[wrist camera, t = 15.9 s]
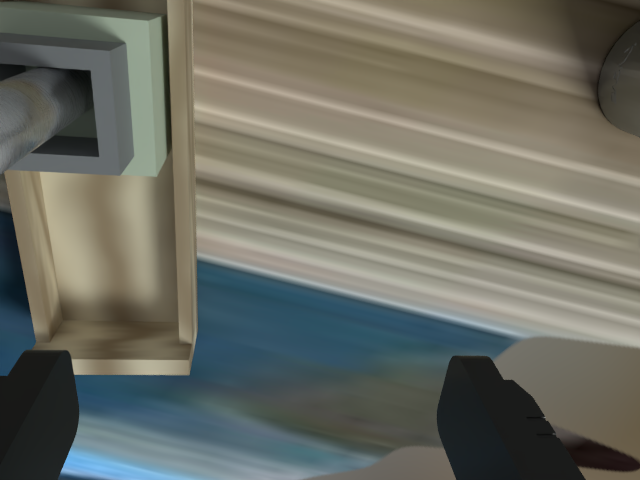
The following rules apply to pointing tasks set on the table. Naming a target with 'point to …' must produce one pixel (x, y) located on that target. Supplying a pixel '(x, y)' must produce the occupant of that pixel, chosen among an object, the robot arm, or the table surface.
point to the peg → (39, 108)
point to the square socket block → (96, 84)
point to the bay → (118, 240)
